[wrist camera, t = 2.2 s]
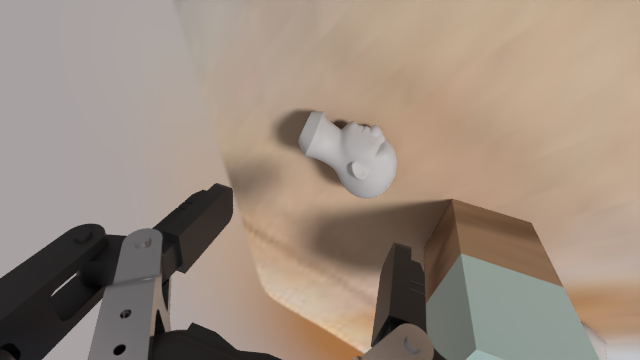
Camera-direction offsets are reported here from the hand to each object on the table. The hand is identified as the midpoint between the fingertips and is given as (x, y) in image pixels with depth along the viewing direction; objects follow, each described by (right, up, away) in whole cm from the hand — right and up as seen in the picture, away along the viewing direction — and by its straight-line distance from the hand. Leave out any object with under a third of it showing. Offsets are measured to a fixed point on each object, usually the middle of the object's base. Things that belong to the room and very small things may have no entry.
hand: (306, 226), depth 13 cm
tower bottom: (+14, -3, +10) cm, 17 cm away
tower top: (+12, -6, +6) cm, 14 cm away
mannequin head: (+3, +5, +9) cm, 11 cm away
